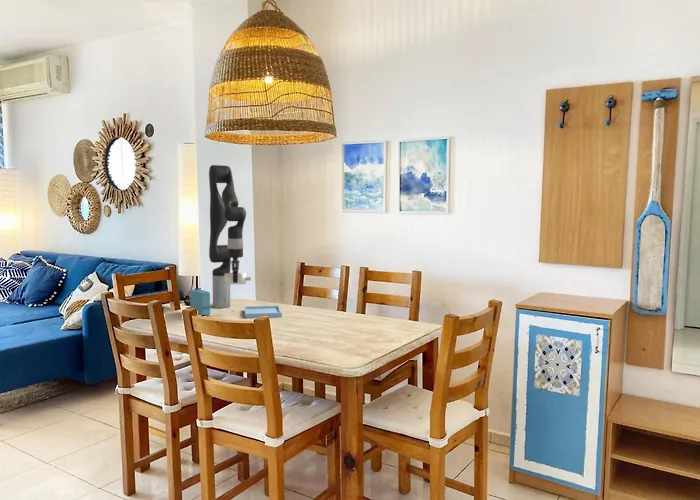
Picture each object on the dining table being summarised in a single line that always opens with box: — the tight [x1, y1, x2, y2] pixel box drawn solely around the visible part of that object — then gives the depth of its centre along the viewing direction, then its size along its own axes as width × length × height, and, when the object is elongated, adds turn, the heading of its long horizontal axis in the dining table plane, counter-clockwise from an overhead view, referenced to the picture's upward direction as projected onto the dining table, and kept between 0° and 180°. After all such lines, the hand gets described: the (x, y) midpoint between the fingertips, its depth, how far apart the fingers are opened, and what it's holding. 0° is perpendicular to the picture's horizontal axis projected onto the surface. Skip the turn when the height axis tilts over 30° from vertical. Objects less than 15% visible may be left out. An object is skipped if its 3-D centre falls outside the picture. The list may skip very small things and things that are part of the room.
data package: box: [189, 288, 211, 317], centre depth 273 cm, size 12×4×12 cm, turn 45°
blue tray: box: [243, 305, 283, 319], centre depth 277 cm, size 18×18×2 cm
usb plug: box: [225, 272, 252, 285], centre depth 269 cm, size 13×4×5 cm, turn 101°
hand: (235, 281), depth 269 cm, fingers closed on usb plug, 4 cm apart
